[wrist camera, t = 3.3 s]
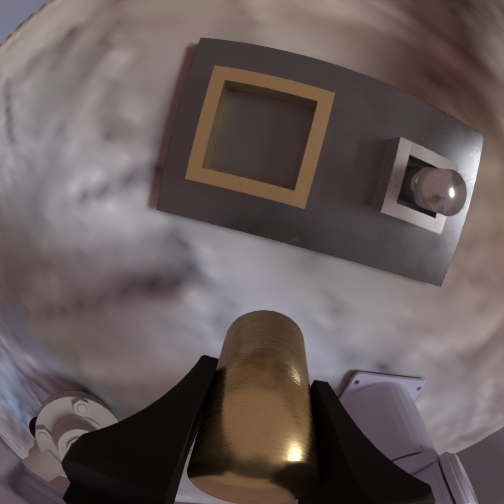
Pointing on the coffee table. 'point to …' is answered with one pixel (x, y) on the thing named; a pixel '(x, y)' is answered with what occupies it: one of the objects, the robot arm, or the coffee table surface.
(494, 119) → the coffee table surface
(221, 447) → the brass fitting
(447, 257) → the plate
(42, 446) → the valve
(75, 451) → the robot arm
